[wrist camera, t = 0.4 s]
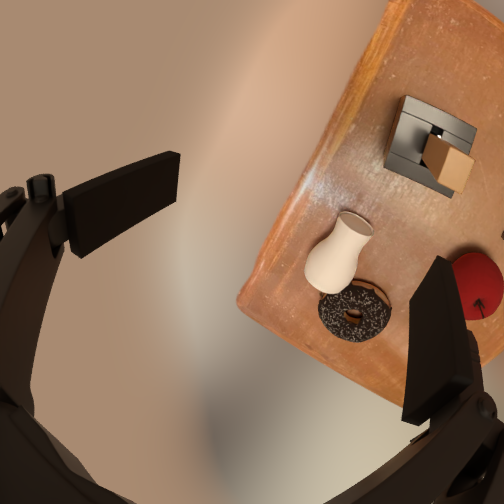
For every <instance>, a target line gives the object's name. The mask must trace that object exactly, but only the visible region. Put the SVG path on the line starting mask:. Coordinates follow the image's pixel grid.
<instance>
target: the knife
mask: <svg viewBox="0 0 504 504" xmlns="http://www.w3.org/2000/svg"><path fill="white" fill-rule="evenodd" d="M422 160H423V161H424V163H425V164H426V166H427V167H428V169H429V170H430V172H431V173H432V175H433V176H434V178H435V180H436V181H437V182H438V183H439V184H441V185H443V186H445V187H447V188H449V189H451V190H453V191H455V192H457V193H459V194H462V192H463V190H464V188H465V185H466V183H467V180H468V178H469V175H470V173H471V170H472V167H473V165H474V162H475V159H474V158H472V157H471V156H469V155H468V154H466V153H465V152H463V151H462V150H460V149H459V148H457V147H455V146H454V145H452V144H451V143H449V142H447V141H445V140H443V139H441V136H440V135H438V134H436V133H434V132H433V131H431V132H430V135H429V138H428V141H427V144H426V147H425V149H424V152H423V155H422Z"/></svg>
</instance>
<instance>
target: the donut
mask: <svg viewBox="0 0 504 504" xmlns="http://www.w3.org/2000/svg"><path fill="white" fill-rule="evenodd" d="M351 309H355V310H358V311H360V312H362V314H363V317H362V318H359V319H356V318H352V317H349V316H348V315H347V314H346V312H345V311H347V310H351ZM391 310H392V307H390V305H389V301H388V300H387V298H386V296H385V294H384V293H383V292H382V291H381V290H379V289H378V288H377V287H375V286H373V285H371V284H368V283H365V282H361V281H351V282H350V283H349V285H348V286H346V287H345V288H344V289H343V290H341V291H340V292H339V293H336V294H328V293H325V294H324V296H323V298H322V300H320V301H319V305H318V312H319V317H320V319H321V321H322V323H323V324H324V326H325V327H326V328H327V330H329V331H330V332H331V333H332V334H334V336H337V337H338V338H341V339H344V340H347V341H350V342H356V343H357V342H358V343H359V342H363V341H366V340H369V339H371V338H373V337H375V336H377V335H378V334H379V333H380V332H381V331H382V330H383V329H384V328H385V327H386V325H387V323H388V321H389V319H390V316H391Z"/></svg>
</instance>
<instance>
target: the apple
mask: <svg viewBox="0 0 504 504" xmlns="http://www.w3.org/2000/svg"><path fill="white" fill-rule="evenodd" d="M452 268H453V271H454V275H455V278H456V282H457V286H458V290H459V294H460V298H461V303H462V307H463V312H464V317H465V320H479V319H484V318H486V317H488V316H490V315H492V314H493V313H494V312H495V311H496V309H497V308H498V306H499V305H500V303H501V300H502V297H503V293H504V281H503V276H502V273H501V271H500V269H499V267H498V266H497V265H496V263H495V262H493V261H492V260H491V259H490V258H489V257H488V256H486V255H485V254H482V253H467V254H464V255H463V256H461V257H460V258H458V259H457V260H456V261H455V262H454V263H453V264H452Z"/></svg>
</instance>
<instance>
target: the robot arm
mask: <svg viewBox="0 0 504 504" xmlns="http://www.w3.org/2000/svg"><path fill="white" fill-rule="evenodd" d="M179 164H180V154H179V153H176V152H172V151H167V152H163V153H160V154H157V155H154V156H152V157H149V158H146V159H143V160H140V161H137V162H134V163H132V164H129V165H126V166H124V167H121V168H119V169H116V170H114V171H111V172H108V173H106V174H104V175H101V176H98V177H96V178H94V179H91V180H89V181H86V182H84V183H82V184H79V185H77V186H75V187H73V188H70V189H68V190H66V191H64V192H62V194H61V195H59V196H57V197H56V189H55V180H54V176H53V175H51V174H39V175H36V176H33V177H31V178H29V179H28V180H27V181H26V182H27V189H28V195H29V199H27V198H25V191H24V188H23V187H11V188H9V189H8V190H6V191H4V192H3V193H1V194H0V504H136V503H134V502H133V501H131V500H129V499H126V498H124V497H122V496H120V495H118V494H116V493H114V492H112V491H109V490H107V489H105V488H103V487H101V486H99V485H98V484H97V483H96V482H95V481H94V480H93V478H92V477H91V476H90V474H89V473H88V472H87V471H86V469H85V468H84V467H83V465H82V464H81V462H80V461H79V460H78V458H76V457H75V456H74V455H73V454H72V453H71V452H70V451H69V450H68V449H67V448H66V447H65V446H64V445H63V444H61V443H60V442H59V441H58V440H57V439H56V438H55V437H54V436H53V435H52V434H51V433H50V432H49V431H47V430H46V429H45V428H44V427H43V426H42V425H41V424H40V423H39V422H38V421H37V420H36V419H35V418H34V401H33V397H32V394H31V390H30V381H31V374H32V368H33V362H34V356H35V351H36V347H37V342H38V337H39V333H40V329H41V325H42V321H43V317H44V313H45V309H46V305H47V302H48V299H49V295H50V292H51V288H52V285H53V282H54V279H55V276H56V273H57V270H58V267H59V264H60V261H61V258H62V256H63V253H64V242H66V241H67V240H69V243H70V248H71V252H72V253H74V254H75V255H77V256H78V257H79V258H81V259H82V258H83V257H85V256H86V255H88V254H89V253H91V252H93V251H94V250H95V249H97V248H99V247H100V246H102V245H103V244H105V243H107V242H108V241H110V240H111V239H113V238H115V237H116V236H118V235H119V234H121V233H123V232H124V231H126V230H128V229H129V228H131V227H133V226H134V225H136V224H138V223H139V222H141V221H143V220H144V219H146V218H148V217H149V216H151V215H153V214H155V213H156V212H158V211H160V210H162V209H163V208H165V207H167V206H169V205H171V204H172V203H174V202H176V197H177V185H178V175H179ZM4 222H5V225H6V229H7V232H6V234H5V235H4V236H3V232H2V228H1V225H2V224H3V223H4ZM478 354H479V350H478V344H477V341H476V339H475V337H474V335H473V333H472V331H470V330H468V329H467V327H466V322H465V317H464V312H463V307H462V303H461V298H460V294H459V290H458V286H457V282H456V278H455V275H454V271H453V268H452V264H451V262H450V261H448V260H446V259H444V258H442V257H440V256H438V255H437V257H436V259H435V260H434V262H433V264H432V266H431V267H430V269H429V271H428V272H427V274H426V276H425V277H424V279H423V280H422V282H421V284H420V285H419V287H418V288H417V290H416V292H415V293H414V295H413V296H412V298H411V299H410V301H409V348H408V364H407V377H406V387H405V396H404V404H403V412H402V420H401V421H404V422H407V423H410V424H413V425H416V426H420V425H421V424H423V423H424V422H425V421H427V420H428V419H429V418H430V427H429V428H428V429H427V430H425V431H424V432H423V433H421V434H420V435H418V436H417V437H415V438H413V439H412V440H410V442H411V443H410V444H409V445H408V446H407V447H405V448H404V449H403V450H402V451H401V452H399V453H398V454H397V455H396V456H394V457H393V458H392V459H390V460H389V461H388V462H387V463H385V464H384V465H382V466H381V467H380V468H378V469H377V470H376V471H374V472H373V473H372V474H370V475H369V476H367V477H366V478H364V479H363V480H361V481H360V482H358V483H357V484H355V485H354V486H352V487H351V488H349V489H347V490H346V491H344V492H343V493H341V494H339V495H338V496H336V497H334V498H333V499H331V500H329V501H328V502H326V503H324V504H432V503H433V504H504V423H503V422H501V421H500V420H499V419H497V408H496V404H495V402H494V400H493V399H492V397H491V396H490V395H489V394H488V393H486V392H484V387H483V378H482V370H481V364H480V356H479V355H478ZM483 477H484V478H483Z"/></svg>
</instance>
